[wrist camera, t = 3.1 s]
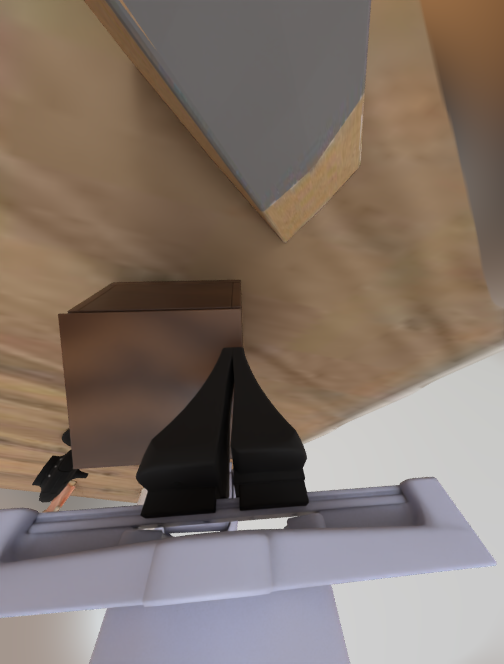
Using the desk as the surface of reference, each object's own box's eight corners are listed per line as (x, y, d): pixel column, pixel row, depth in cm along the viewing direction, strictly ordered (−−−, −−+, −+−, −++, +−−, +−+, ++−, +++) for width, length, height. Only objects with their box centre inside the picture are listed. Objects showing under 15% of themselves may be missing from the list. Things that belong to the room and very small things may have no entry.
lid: (246, 451, 15) (246, 458, 15) (80, 462, 15) (73, 469, 14) (241, 309, 15) (241, 308, 14) (66, 314, 14) (57, 313, 13)
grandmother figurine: (73, 487, 53) (33, 555, 43) (57, 485, 51) (12, 555, 41) (81, 479, 50) (41, 551, 40) (65, 476, 48) (18, 551, 38)
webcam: (69, 422, 34) (15, 492, 25) (112, 432, 37) (77, 497, 28) (62, 439, 37) (12, 505, 29) (102, 447, 40) (67, 509, 32)
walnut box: (243, 357, 27) (244, 393, 21) (148, 360, 26) (126, 399, 21) (240, 279, 20) (241, 306, 15) (112, 282, 19) (66, 311, 14)
